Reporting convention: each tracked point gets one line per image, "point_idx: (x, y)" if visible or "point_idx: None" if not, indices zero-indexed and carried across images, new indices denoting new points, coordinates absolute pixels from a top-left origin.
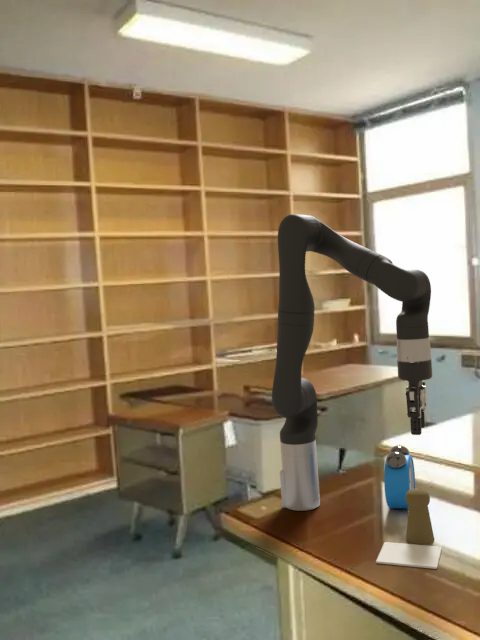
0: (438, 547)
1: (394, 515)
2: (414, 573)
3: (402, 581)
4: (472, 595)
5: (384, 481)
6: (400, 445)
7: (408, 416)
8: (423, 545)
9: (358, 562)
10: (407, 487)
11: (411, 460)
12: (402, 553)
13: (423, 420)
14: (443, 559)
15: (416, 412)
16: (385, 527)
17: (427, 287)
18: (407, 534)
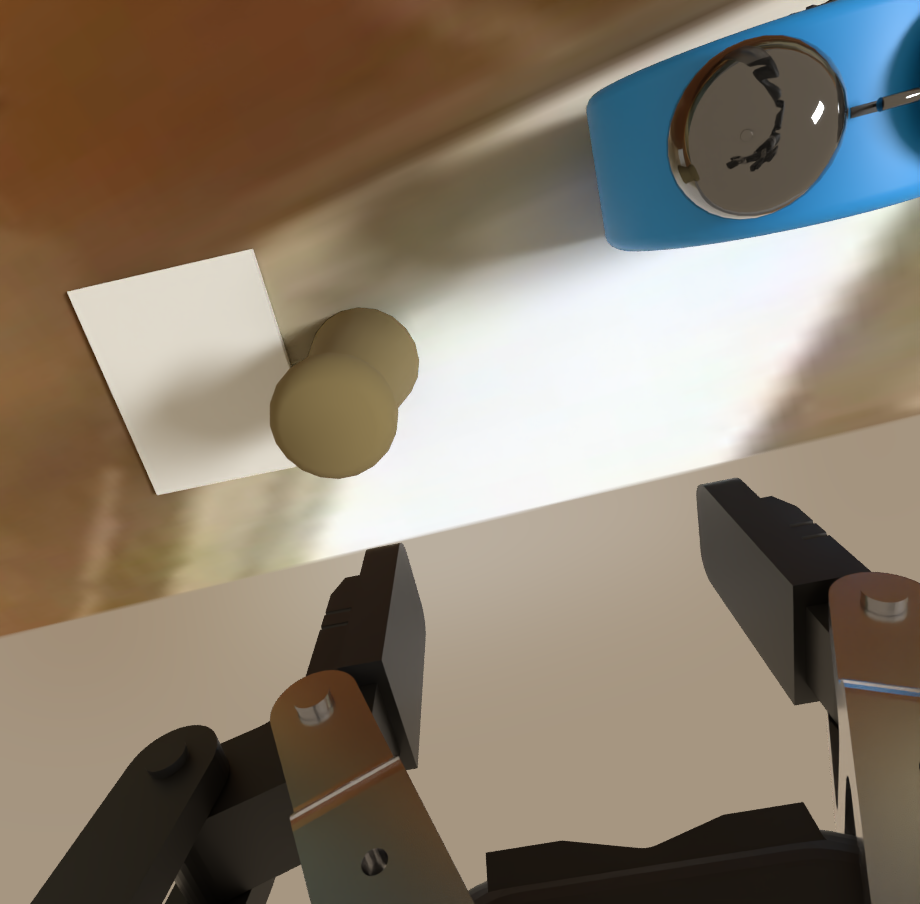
0: None
1: (582, 155)
2: (87, 440)
3: (10, 427)
4: (68, 615)
5: (612, 83)
6: None
7: (147, 754)
8: None
9: (33, 221)
10: (615, 243)
11: None
12: (187, 357)
13: (737, 615)
14: (241, 487)
15: (187, 901)
16: (421, 176)
17: None
18: (322, 329)
